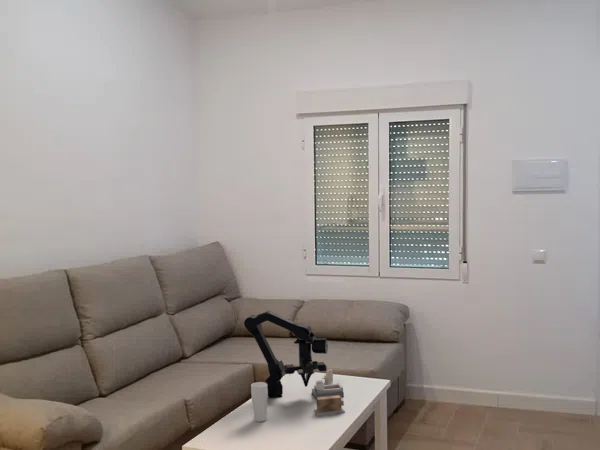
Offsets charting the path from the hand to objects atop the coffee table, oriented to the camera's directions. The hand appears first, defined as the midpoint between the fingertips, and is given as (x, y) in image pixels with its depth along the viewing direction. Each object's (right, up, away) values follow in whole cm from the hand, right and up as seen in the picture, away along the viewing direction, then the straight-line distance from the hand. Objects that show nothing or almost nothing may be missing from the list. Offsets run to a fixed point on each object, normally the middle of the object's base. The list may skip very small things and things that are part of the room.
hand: (305, 386), depth 280 cm
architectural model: (+11, -4, +19) cm, 22 cm away
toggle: (+7, -2, +1) cm, 7 cm away
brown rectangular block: (+10, -5, -19) cm, 22 cm away
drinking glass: (-19, -7, -27) cm, 34 cm away
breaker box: (+10, -4, +2) cm, 11 cm away
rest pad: (+10, -6, -19) cm, 22 cm away
